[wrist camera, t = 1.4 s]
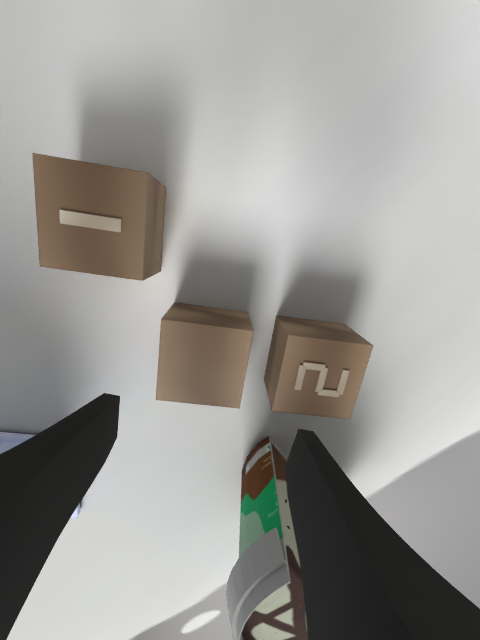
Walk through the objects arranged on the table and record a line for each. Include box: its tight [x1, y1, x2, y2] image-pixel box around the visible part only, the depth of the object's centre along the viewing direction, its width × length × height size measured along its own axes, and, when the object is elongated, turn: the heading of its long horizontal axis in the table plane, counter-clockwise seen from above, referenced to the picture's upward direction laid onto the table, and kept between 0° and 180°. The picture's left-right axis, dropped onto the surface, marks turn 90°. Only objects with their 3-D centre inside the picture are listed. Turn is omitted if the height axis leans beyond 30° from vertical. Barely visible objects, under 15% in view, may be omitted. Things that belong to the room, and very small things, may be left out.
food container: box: [226, 436, 308, 640], centre depth 19 cm, size 12×6×10 cm, turn 35°
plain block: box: [156, 303, 253, 408], centre depth 17 cm, size 5×5×4 cm
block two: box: [264, 315, 373, 419], centre depth 18 cm, size 5×5×4 cm
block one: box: [33, 153, 166, 281], centre depth 15 cm, size 5×5×4 cm
